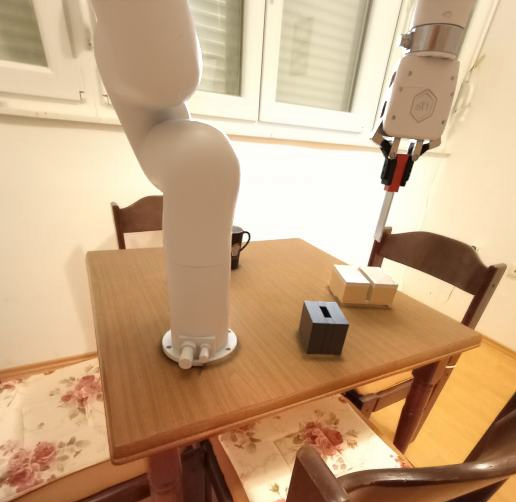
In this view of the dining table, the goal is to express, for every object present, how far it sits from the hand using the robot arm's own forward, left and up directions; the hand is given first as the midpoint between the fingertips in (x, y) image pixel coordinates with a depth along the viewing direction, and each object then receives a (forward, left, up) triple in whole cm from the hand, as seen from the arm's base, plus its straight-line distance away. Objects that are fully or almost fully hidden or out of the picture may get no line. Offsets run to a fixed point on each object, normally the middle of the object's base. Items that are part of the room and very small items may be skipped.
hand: (392, 184), depth 57 cm
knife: (0, 0, -10) cm, 10 cm away
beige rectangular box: (+6, -2, -25) cm, 26 cm away
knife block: (-16, +13, -25) cm, 33 cm away
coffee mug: (+23, +29, -26) cm, 45 cm away
